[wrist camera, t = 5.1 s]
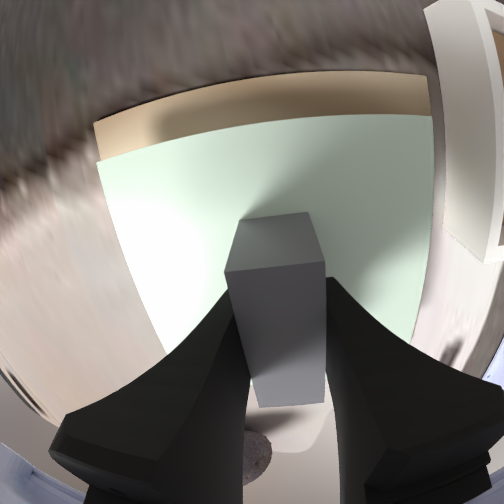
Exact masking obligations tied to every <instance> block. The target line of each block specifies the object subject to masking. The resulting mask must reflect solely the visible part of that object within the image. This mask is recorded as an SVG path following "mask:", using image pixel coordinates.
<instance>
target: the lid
mask: <svg viewBox="0 0 504 504" xmlns="http://www.w3.org/2000/svg"><path fill="white" fill-rule="evenodd" d="M97 167H98V171H99V175H100V179H101V183H102V186H103V190H104V193H105V197H106V200H107V204H108V207H109V210H110V214H111V217H112V220H113V223H114V226H115V229H116V232H117V235H118V238H119V241H120V244H121V247H122V250H123V253H124V255H125V258H126V261H127V263H128V266H129V269H130V271H131V274H132V276H133V279H134V282H135V284H136V287H137V289H138V291H139V294H140V296H141V299H142V301H143V303H144V306H145V308H146V310H147V313H148V315H149V317H150V319H151V321H152V324H153V326H154V328H155V330H156V332H157V334H158V337H159V339H160V341H161V343H162V345H163V347H164V349H165V351H166V353H167V355H168V354H169V353H170V352H171V351H172V350H174V349H175V348H176V347H177V346H178V345H179V344H180V343H181V342H182V341H183V340H184V339H185V338H186V337H187V336H188V335H189V334H190V332H191V331H192V330H193V329H194V328H195V327H196V326H197V325H198V324H199V323H200V321H201V320H202V319H203V318H204V317H205V316H206V314H207V313H208V312H209V311H210V310H211V308H212V307H213V306H214V305H215V303H216V302H217V301H218V300H219V298H220V297H221V296H222V295H223V293H224V292H225V291H226V290H227V289H228V292H229V296H230V300H231V304H232V308H233V312H234V315H235V319H236V323H237V327H238V331H239V335H240V339H241V342H242V346H243V350H244V354H245V357H246V361H247V365H248V369H249V372H250V376H251V382H250V385H253V387H254V390H255V394H256V397H257V401H258V404H259V408H262V407H281V406H294V405H305V404H315V403H323V402H324V394H325V379H327V375H326V277H334V278H335V279H336V280H337V281H338V282H339V283H340V284H341V285H342V286H343V287H344V288H345V289H346V291H347V292H348V293H349V294H350V295H351V296H352V297H353V298H354V299H355V300H356V301H357V302H358V303H359V304H360V305H361V306H362V307H363V308H364V309H365V310H367V311H368V312H369V313H370V314H371V315H372V316H373V317H374V318H375V319H376V320H378V321H379V322H380V323H381V324H382V325H384V326H385V327H386V328H387V329H389V330H390V331H391V332H392V333H394V334H395V335H397V336H398V337H400V338H401V339H402V340H404V341H405V342H407V343H408V344H410V341H411V337H412V333H413V330H414V326H415V322H416V318H417V313H418V309H419V304H420V300H421V295H422V290H423V284H424V279H425V273H426V267H427V260H428V253H429V245H430V237H431V227H432V215H433V200H434V135H433V120H432V116H421V115H397V114H358V115H333V116H318V117H306V118H295V119H286V120H277V121H269V122H262V123H255V124H248V125H242V126H236V127H230V128H225V129H219V130H214V131H209V132H204V133H200V134H195V135H191V136H186V137H182V138H178V139H174V140H170V141H166V142H162V143H158V144H154V145H151V146H147V147H143V148H140V149H137V150H133V151H130V152H127V153H123V154H120V155H117V156H114V157H111V158H108V159H105V160H102V161H99V162H97Z"/></svg>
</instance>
